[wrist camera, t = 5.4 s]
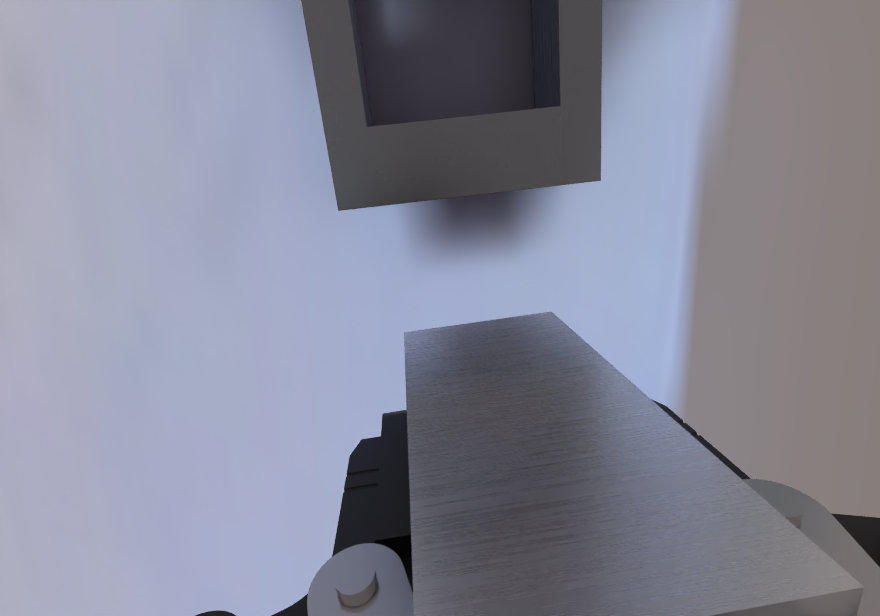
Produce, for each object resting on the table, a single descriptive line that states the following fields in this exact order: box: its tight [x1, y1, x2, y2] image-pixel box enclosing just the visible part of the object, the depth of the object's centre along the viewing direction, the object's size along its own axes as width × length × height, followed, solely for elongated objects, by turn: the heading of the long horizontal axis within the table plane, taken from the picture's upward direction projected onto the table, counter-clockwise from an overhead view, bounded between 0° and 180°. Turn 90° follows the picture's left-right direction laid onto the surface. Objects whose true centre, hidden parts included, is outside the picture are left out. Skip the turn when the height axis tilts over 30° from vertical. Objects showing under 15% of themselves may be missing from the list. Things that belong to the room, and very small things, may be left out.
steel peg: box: [404, 312, 864, 616], centre depth 8 cm, size 4×4×8 cm
